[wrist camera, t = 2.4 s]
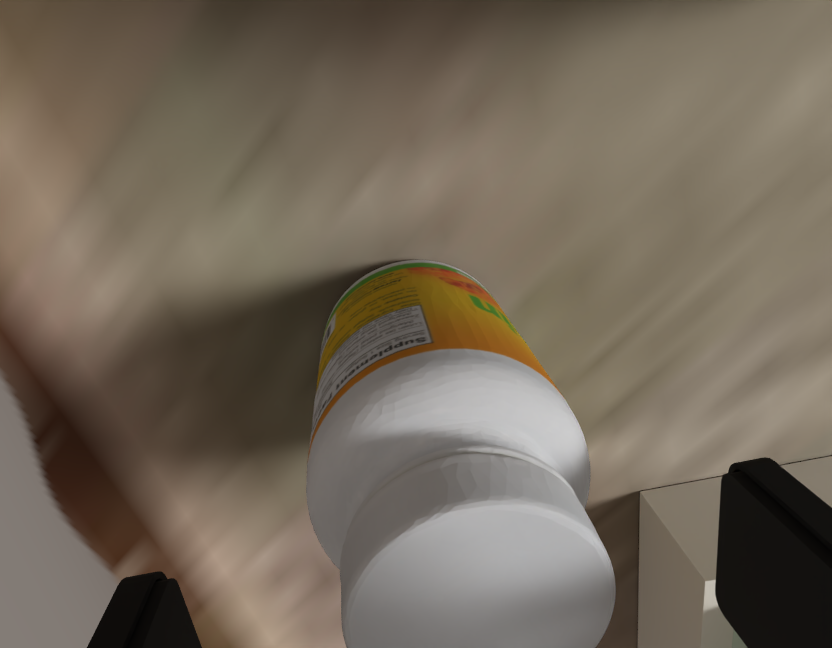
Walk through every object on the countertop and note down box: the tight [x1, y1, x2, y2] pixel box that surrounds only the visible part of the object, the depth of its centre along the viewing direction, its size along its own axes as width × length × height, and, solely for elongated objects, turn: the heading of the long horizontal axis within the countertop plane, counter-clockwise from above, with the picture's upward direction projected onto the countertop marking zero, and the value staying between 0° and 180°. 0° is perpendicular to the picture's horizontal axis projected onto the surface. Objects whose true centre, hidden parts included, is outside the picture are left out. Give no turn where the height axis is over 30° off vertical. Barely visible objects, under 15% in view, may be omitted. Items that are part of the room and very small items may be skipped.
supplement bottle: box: [306, 260, 616, 648], centre depth 13 cm, size 5×5×10 cm
